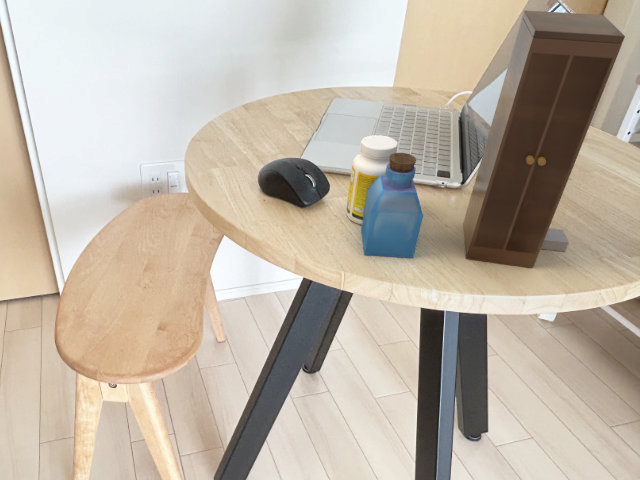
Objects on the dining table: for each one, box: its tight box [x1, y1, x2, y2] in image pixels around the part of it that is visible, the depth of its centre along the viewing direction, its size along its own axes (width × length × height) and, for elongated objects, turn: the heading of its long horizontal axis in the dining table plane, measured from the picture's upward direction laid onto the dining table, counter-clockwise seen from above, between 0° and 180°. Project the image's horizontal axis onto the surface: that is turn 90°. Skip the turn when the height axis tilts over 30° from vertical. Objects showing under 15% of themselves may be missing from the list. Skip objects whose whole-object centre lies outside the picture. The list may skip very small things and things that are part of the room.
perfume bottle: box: [360, 152, 424, 259], centre depth 71 cm, size 6×6×12 cm
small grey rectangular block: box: [540, 227, 570, 252], centre depth 75 cm, size 3×3×1 cm
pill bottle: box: [345, 134, 399, 226], centre depth 77 cm, size 6×6×11 cm
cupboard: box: [462, 10, 626, 269], centre depth 66 cm, size 10×8×27 cm
